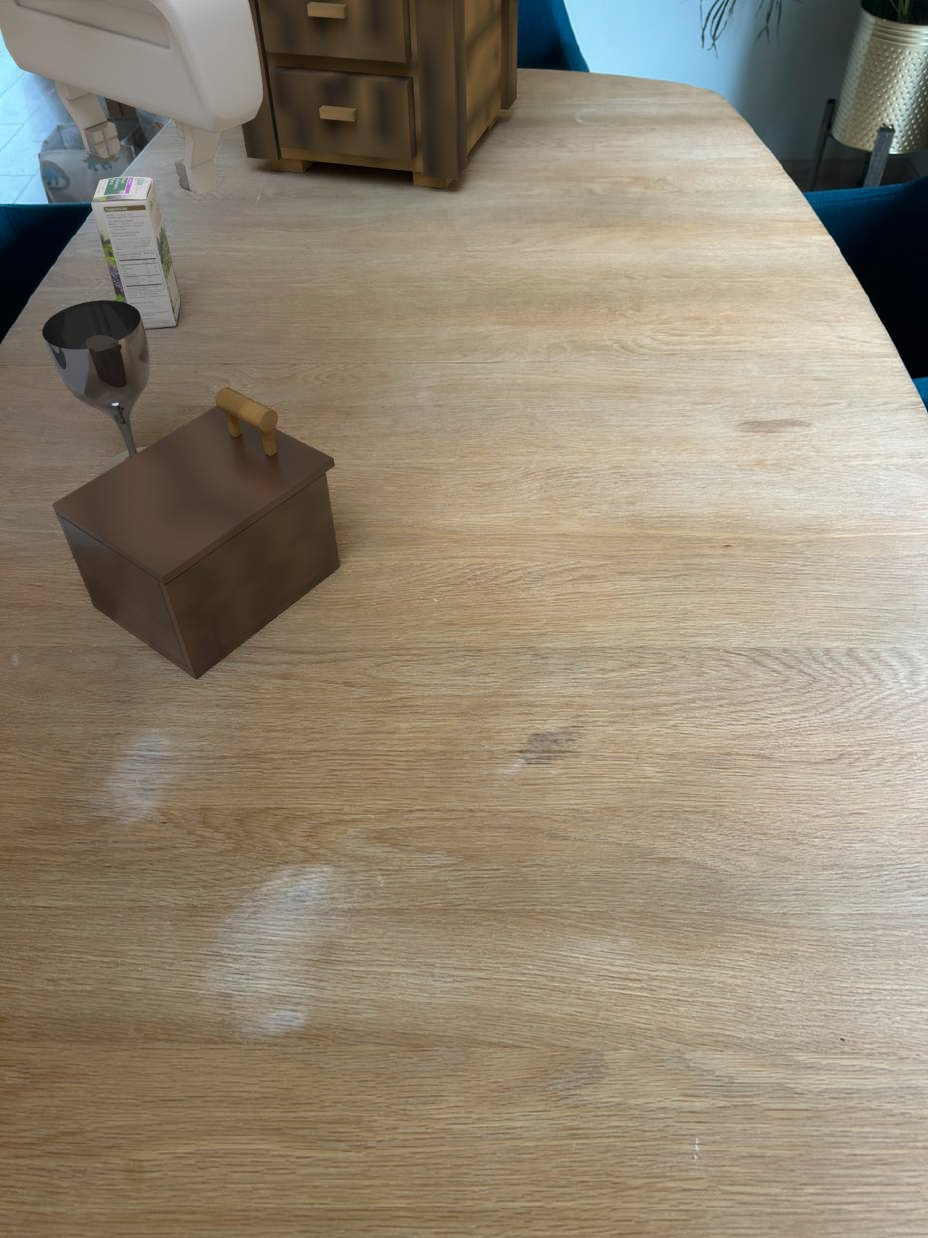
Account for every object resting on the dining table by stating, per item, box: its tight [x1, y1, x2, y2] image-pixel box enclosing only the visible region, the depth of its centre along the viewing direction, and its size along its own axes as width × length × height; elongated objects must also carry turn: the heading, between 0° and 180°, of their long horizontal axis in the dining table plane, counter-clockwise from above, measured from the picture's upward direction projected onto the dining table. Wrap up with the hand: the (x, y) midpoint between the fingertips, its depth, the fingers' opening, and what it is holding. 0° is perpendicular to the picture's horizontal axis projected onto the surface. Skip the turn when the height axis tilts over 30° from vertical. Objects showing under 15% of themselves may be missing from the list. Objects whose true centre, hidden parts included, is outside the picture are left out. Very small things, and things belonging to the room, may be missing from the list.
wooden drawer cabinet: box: [240, 0, 519, 189], centre depth 134 cm, size 35×35×33 cm
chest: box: [55, 472, 341, 680], centre depth 78 cm, size 16×13×10 cm
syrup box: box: [90, 176, 182, 330], centre depth 107 cm, size 6×6×14 cm
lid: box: [51, 387, 336, 584], centre depth 73 cm, size 17×13×5 cm
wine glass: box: [41, 299, 151, 476], centre depth 87 cm, size 8×8×15 cm
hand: (150, 171), depth 63 cm, fingers open, 8 cm apart
